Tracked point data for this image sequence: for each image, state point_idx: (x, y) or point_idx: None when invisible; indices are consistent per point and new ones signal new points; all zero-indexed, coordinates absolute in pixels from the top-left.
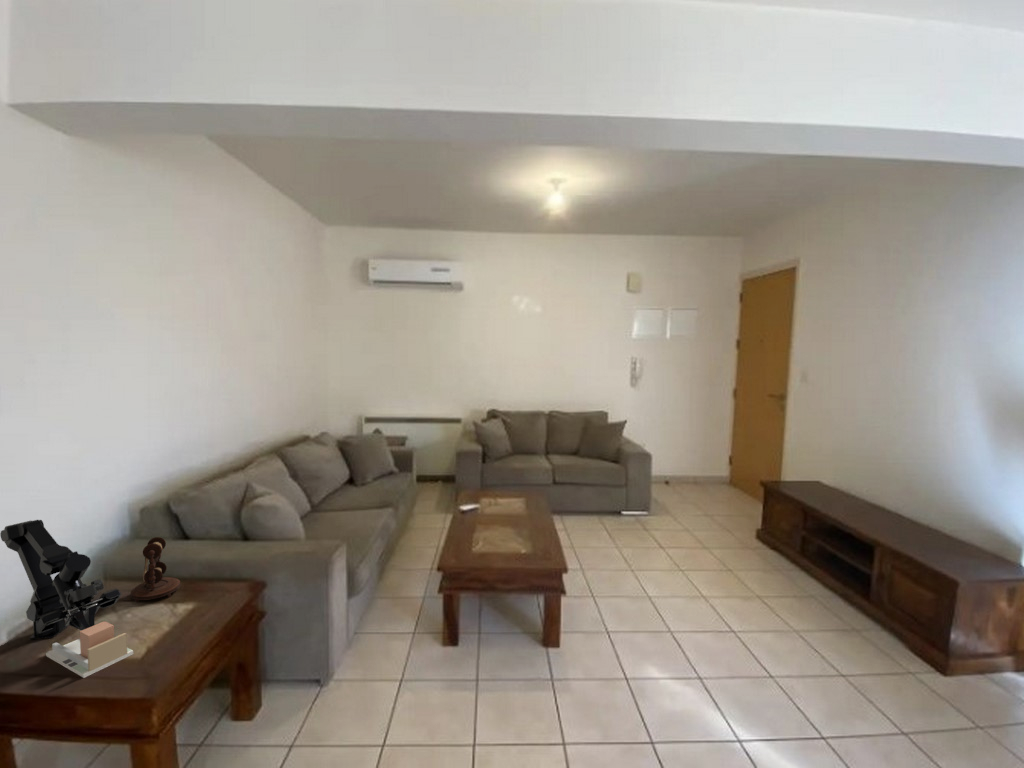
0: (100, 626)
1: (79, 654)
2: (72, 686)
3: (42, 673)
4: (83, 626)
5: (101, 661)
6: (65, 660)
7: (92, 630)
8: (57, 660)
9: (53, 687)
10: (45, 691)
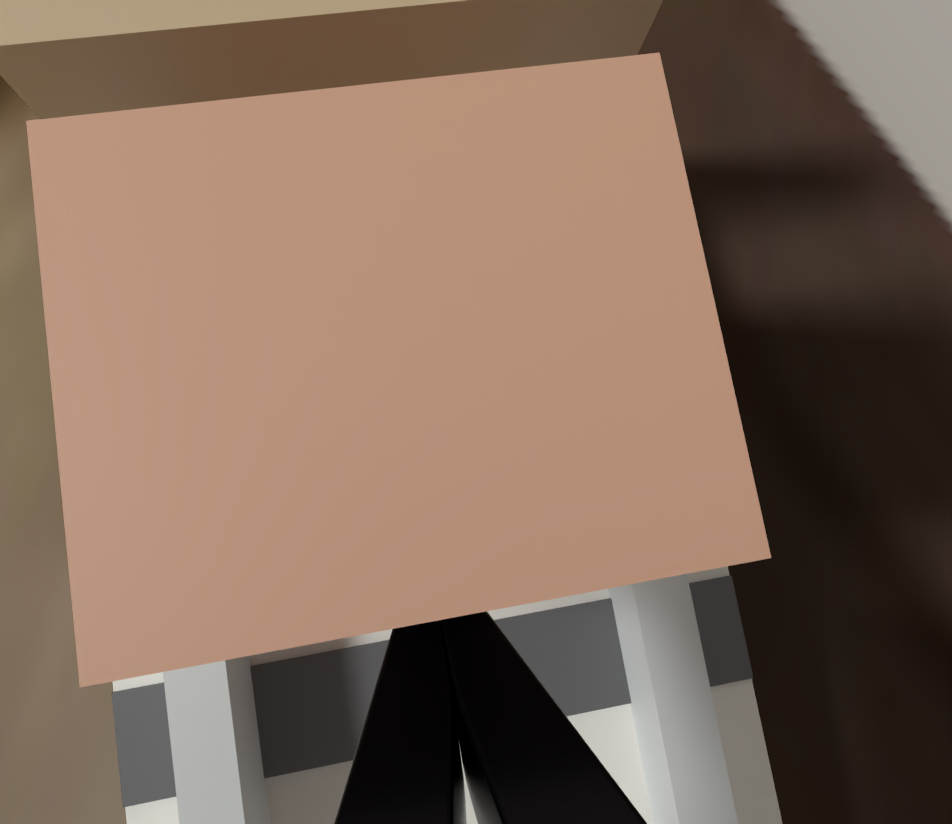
0: (292, 379)
1: (559, 704)
2: (732, 84)
3: (915, 659)
4: (633, 821)
5: None
6: (718, 678)
7: (518, 296)
8: (773, 818)
9: (866, 225)
10: (930, 212)
